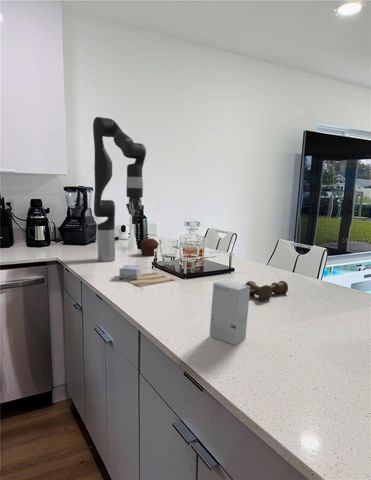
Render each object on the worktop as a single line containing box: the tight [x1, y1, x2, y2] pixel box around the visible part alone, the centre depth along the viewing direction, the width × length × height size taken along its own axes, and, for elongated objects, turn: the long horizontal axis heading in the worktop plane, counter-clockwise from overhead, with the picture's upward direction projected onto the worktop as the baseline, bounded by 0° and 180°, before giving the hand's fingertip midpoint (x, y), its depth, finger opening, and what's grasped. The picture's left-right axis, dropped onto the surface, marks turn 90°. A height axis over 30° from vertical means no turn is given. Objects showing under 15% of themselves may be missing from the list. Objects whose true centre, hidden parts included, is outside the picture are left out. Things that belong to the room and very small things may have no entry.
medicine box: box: [119, 264, 142, 280], centre depth 147 cm, size 8×4×9 cm
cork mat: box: [122, 272, 176, 288], centre depth 145 cm, size 16×18×1 cm
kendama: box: [244, 280, 289, 302], centre depth 124 cm, size 6×10×20 cm
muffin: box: [139, 237, 160, 257], centre depth 200 cm, size 12×11×10 cm
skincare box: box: [209, 279, 250, 346], centre depth 87 cm, size 8×6×15 cm
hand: (134, 224), depth 156 cm, fingers closed
